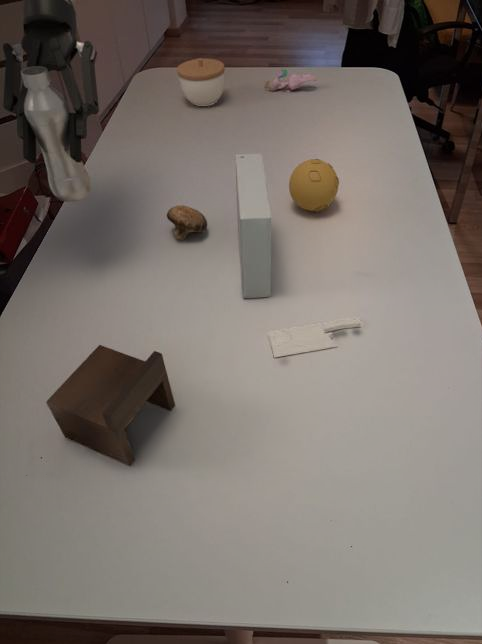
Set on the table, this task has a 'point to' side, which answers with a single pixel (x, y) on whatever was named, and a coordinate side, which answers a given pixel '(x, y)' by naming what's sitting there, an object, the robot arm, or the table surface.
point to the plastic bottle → (54, 135)
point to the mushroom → (186, 220)
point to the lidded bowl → (202, 80)
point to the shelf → (109, 399)
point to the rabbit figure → (292, 82)
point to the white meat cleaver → (307, 337)
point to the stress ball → (313, 185)
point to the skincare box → (253, 226)
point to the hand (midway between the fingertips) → (52, 159)
